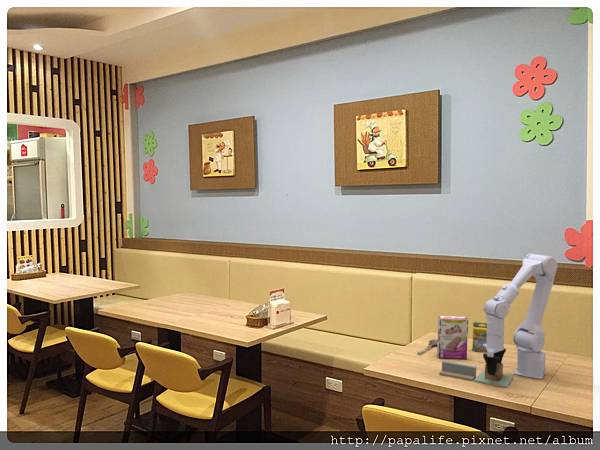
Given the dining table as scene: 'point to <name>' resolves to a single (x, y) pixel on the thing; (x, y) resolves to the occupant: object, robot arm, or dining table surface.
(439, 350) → the candy bar box
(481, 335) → the crayon box
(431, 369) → the dining table surface
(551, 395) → the dining table surface
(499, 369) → the lettered cube
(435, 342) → the soupspoon
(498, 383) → the mat
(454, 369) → the grey long block
